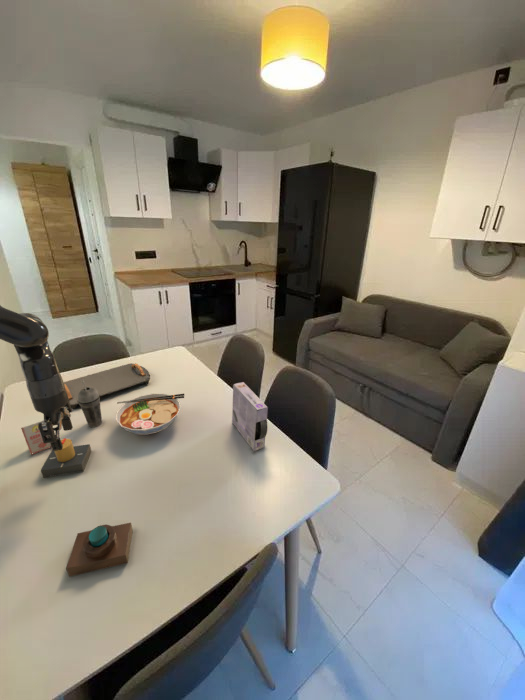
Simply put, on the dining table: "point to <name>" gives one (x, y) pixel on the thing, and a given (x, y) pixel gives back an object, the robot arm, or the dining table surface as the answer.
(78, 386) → the serving tray
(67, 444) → the dial
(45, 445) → the pink printed box
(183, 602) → the dining table surface
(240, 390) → the cake pan box
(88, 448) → the dial panel
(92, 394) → the beverage cup
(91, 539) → the button
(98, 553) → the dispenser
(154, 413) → the ramen bowl
